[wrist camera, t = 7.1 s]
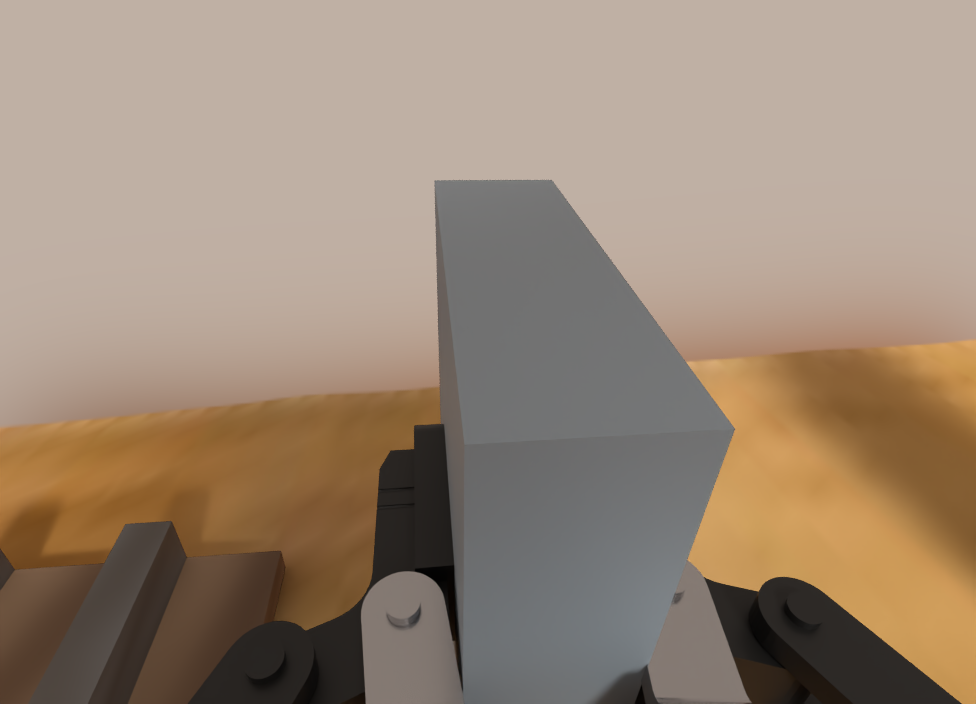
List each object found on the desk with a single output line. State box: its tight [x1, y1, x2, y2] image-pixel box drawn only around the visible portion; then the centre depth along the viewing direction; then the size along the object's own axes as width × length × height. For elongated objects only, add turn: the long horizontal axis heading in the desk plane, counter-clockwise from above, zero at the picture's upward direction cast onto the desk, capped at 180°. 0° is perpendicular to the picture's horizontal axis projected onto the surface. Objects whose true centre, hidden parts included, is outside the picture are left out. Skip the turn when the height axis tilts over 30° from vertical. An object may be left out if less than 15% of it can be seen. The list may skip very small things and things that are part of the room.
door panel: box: [435, 180, 735, 704], centre depth 11 cm, size 2×8×12 cm, turn 7°
